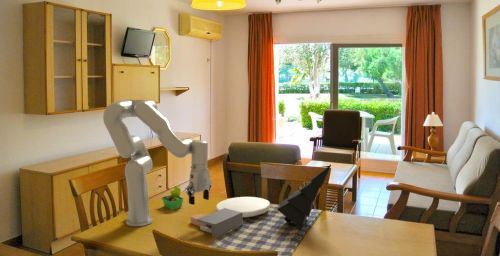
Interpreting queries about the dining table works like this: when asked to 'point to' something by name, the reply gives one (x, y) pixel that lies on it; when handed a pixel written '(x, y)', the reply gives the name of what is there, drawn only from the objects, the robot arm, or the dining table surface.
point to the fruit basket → (173, 199)
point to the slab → (194, 221)
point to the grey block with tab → (221, 222)
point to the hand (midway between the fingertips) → (198, 201)
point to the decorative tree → (302, 200)
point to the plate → (245, 205)
